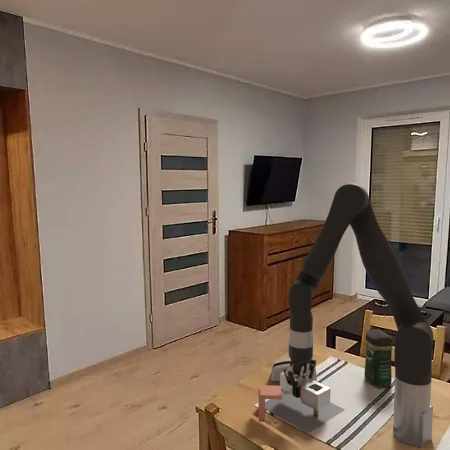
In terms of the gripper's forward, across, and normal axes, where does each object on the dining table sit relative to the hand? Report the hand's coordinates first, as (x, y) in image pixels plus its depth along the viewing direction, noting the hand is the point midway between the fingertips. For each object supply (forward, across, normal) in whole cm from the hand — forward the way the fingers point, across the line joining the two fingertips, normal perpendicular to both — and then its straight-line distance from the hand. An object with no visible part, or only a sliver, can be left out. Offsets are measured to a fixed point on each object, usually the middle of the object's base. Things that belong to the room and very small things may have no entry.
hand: (299, 394), depth 127 cm
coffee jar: (+5, +35, -7) cm, 36 cm away
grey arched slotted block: (+5, +12, +13) cm, 19 cm away
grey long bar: (0, 0, -1) cm, 1 cm away
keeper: (+5, -9, +3) cm, 11 cm away
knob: (+5, 0, -6) cm, 8 cm away
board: (+5, 0, -1) cm, 5 cm away
